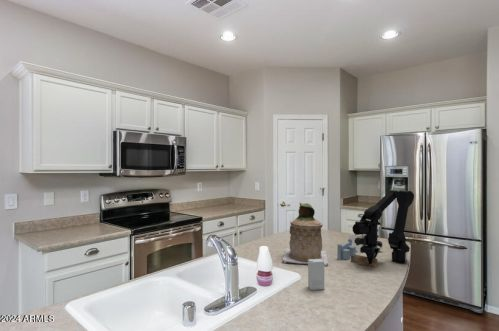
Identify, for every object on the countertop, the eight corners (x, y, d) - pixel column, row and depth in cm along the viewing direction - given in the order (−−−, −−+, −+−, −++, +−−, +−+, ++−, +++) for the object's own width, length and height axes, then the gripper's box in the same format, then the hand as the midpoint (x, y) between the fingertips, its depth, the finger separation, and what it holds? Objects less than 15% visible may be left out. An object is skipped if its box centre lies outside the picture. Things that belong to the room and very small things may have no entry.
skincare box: (321, 285, 131) (321, 258, 131) (324, 290, 127) (324, 261, 127) (307, 286, 131) (307, 258, 131) (310, 290, 126) (310, 261, 126)
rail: (377, 265, 159) (377, 258, 159) (375, 267, 156) (375, 260, 156) (353, 260, 167) (353, 254, 167) (350, 261, 165) (350, 255, 165)
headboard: (357, 253, 180) (357, 239, 180) (345, 261, 165) (345, 245, 165) (348, 252, 183) (348, 237, 183) (336, 259, 169) (336, 243, 169)
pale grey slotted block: (380, 256, 188) (370, 236, 199) (383, 248, 182) (373, 228, 194) (355, 260, 188) (346, 240, 199) (357, 253, 182) (348, 232, 193)
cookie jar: (328, 267, 156) (329, 205, 156) (281, 263, 161) (282, 204, 161) (326, 253, 180) (326, 200, 180) (285, 250, 185) (285, 199, 185)
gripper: (362, 228, 172) (362, 255, 172) (350, 234, 157) (350, 264, 157) (382, 231, 165) (382, 259, 165) (372, 237, 150) (372, 268, 150)
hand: (371, 262), depth 159 cm, fingers open, 4 cm apart
